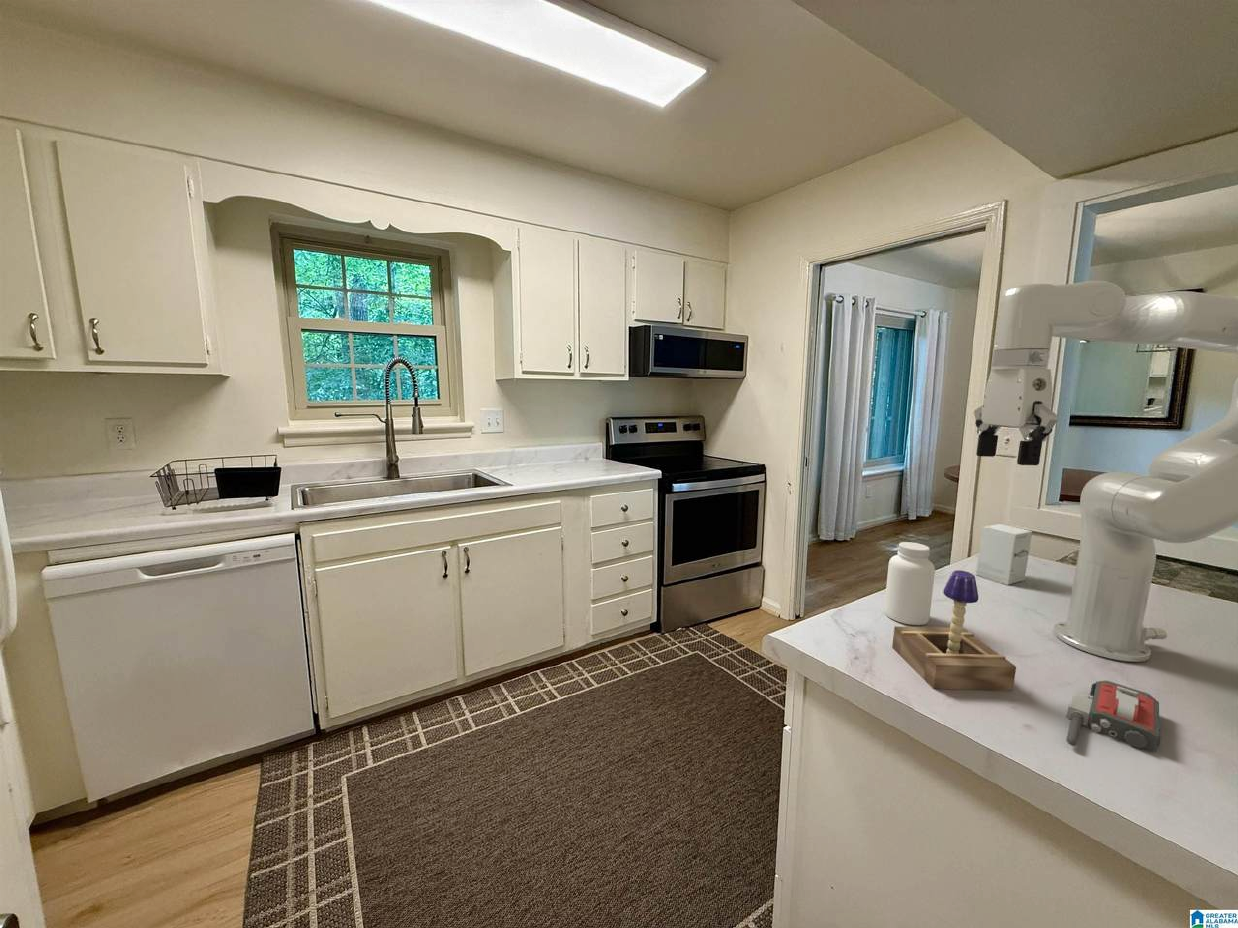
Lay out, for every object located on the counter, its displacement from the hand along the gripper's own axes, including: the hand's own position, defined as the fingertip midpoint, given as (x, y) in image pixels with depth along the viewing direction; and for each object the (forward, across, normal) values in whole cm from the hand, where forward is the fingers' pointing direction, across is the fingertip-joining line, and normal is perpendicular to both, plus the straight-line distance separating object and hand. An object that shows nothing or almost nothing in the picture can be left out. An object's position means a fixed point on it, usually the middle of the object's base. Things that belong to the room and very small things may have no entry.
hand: (1005, 460), depth 86 cm
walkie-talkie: (+34, -25, 0) cm, 42 cm away
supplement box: (+34, +29, -25) cm, 51 cm away
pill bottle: (+34, +7, +10) cm, 36 cm away
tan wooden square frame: (+33, -11, +13) cm, 37 cm away
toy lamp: (+34, -11, +13) cm, 38 cm away
